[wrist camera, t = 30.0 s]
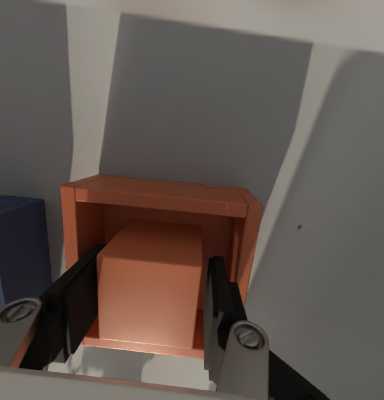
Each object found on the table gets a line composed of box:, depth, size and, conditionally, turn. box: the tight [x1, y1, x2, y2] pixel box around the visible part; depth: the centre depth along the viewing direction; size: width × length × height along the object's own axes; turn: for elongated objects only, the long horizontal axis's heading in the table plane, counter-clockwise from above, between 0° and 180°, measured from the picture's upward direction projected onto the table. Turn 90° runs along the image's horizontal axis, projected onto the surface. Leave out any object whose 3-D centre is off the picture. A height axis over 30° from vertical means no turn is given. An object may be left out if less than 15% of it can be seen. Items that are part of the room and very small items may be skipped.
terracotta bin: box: [60, 175, 263, 359], centre depth 12 cm, size 9×9×4 cm
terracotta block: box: [97, 219, 203, 349], centre depth 11 cm, size 4×4×4 cm
